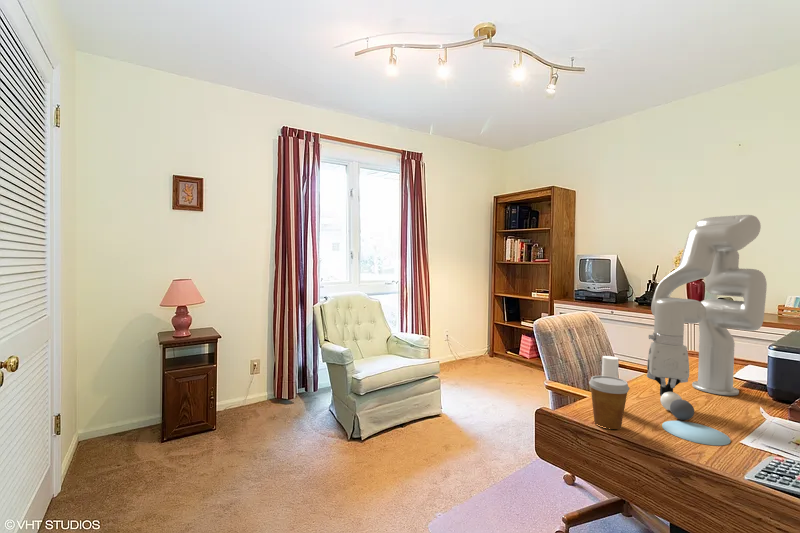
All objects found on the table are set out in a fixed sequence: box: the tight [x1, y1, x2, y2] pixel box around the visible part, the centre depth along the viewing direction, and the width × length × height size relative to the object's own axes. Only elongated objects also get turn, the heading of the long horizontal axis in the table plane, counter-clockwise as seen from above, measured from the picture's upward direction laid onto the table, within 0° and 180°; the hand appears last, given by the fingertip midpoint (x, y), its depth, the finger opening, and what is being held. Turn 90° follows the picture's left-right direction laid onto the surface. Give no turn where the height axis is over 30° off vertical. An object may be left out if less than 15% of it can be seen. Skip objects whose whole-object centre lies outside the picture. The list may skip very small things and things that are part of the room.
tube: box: [601, 355, 620, 378], centre depth 116 cm, size 4×4×15 cm
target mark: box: [661, 420, 731, 447], centre depth 100 cm, size 14×14×1 cm
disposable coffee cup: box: [588, 375, 631, 430], centre depth 104 cm, size 10×10×12 cm
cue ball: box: [660, 391, 683, 412], centre depth 115 cm, size 6×6×6 cm
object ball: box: [670, 399, 695, 421], centre depth 109 cm, size 6×6×6 cm
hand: (666, 399), depth 120 cm, fingers closed
